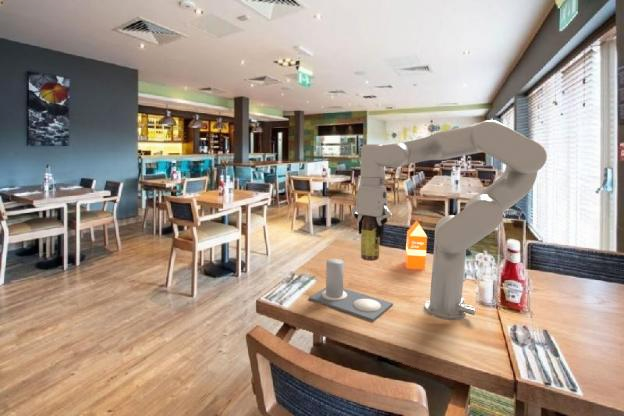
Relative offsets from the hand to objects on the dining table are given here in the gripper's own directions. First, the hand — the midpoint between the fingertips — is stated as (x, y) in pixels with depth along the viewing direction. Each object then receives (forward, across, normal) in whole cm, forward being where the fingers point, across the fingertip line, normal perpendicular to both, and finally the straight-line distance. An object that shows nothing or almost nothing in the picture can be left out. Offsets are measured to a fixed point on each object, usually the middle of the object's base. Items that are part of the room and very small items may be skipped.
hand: (370, 234), depth 120 cm
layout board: (+23, +3, +7) cm, 24 cm away
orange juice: (+24, +2, -43) cm, 49 cm away
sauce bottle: (+9, 0, 0) cm, 9 cm away
